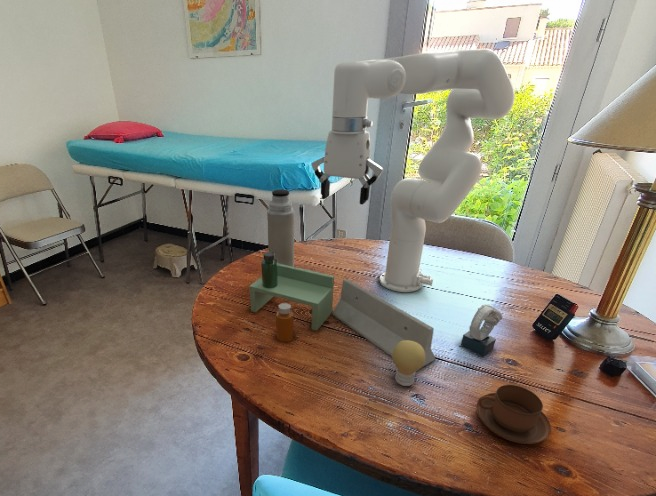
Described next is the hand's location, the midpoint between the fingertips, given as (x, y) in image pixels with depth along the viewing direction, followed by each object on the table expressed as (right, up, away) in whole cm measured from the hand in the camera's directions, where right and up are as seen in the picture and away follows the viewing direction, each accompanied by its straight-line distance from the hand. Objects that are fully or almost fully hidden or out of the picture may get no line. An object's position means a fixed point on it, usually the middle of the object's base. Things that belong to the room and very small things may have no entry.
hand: (343, 200), depth 98 cm
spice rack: (-12, -28, +13) cm, 33 cm away
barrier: (+9, -33, +2) cm, 35 cm away
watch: (+31, -36, -3) cm, 47 cm away
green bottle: (-18, -20, +10) cm, 29 cm away
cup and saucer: (+27, -47, -23) cm, 59 cm away
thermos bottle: (-14, -18, +31) cm, 38 cm away
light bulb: (+11, -42, -13) cm, 45 cm away
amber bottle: (-14, -34, +2) cm, 37 cm away
